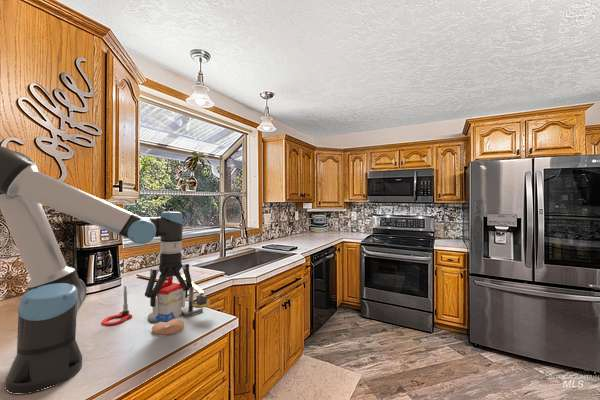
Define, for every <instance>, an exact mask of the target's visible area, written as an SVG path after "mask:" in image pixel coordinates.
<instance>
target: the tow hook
mask: <svg viewBox="0 0 600 400" xmlns="http://www.w3.org/2000/svg"><path fill="white" fill-rule="evenodd" d="M116 318H121V319H119V320H116V321H115V320H114V321H111V322H110V320H112V319H116ZM132 318H133V314H130V310H129V304H128V291H127V285H124V286H123V304H122V310H121V311H120V312H119V313H117V314H113V315H110V316H107V317H105V318H104V319H102V321H101V325H102V326H104V325H105V326H106V327H110V326H116V325H119V324H122V323H124V322H126V321H127V320H128V319H132Z"/></svg>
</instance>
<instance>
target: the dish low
mask: <svg viewBox="0 0 600 400" xmlns="http://www.w3.org/2000/svg"><path fill="white" fill-rule="evenodd" d="M183 329H185V321H184V320H181V319H177V318H174V319H172V320H170V321H169V322H159V323H154V325H153V326H152V328H151V333H152V334H153V335H154V336H158V337H166V336H171V335H174V334H175V335H176V334H178V333H180V332H181V331H183Z"/></svg>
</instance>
